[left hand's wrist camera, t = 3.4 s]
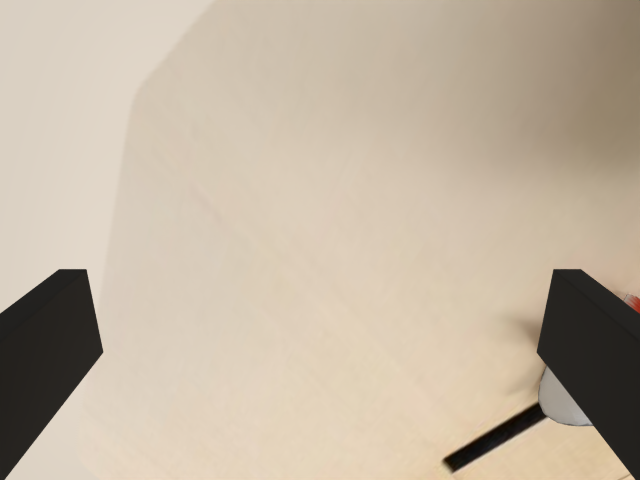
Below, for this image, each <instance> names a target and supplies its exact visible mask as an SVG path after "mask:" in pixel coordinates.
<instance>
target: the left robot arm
mask: <svg viewBox="0 0 640 480" xmlns="http://www.w3.org/2000/svg"><path fill="white" fill-rule="evenodd" d="M102 353H103V348H102V343H101V338H100V334H99V329H98V324H97V319H96V314H95V309H94V304H93V299H92V294H91V289H90V284H89V280H88V275H87V270H86V269H59V270H58V271H56V272H55V273H54V274H52V275H51V276H50V277H48V278H47V279H46V280H44V281H43V282H42V283H40V284H39V285H38V286H36V287H35V288H34V289H32V290H31V291H30V292H28V293H27V294H26V295H24V296H23V297H22V298H20V299H19V300H18V301H16V302H15V303H14V304H12V305H11V306H10V307H8V308H7V309H6V310H4V311H3V312H2V313H0V480H5V478H6V477H7V476H8V475H9V473H10V472H11V471H12V469H13V468H14V467H15V465H16V464H17V463H18V462H19V460H20V459H21V458H22V456H23V455H24V454H25V453H26V451H27V450H28V449H29V447H30V446H31V445H32V444H33V442H34V441H35V440H36V438H37V437H38V436H39V435H40V433H41V432H42V431H43V429H44V428H45V427H46V426H47V424H48V423H49V422H50V420H51V419H52V418H53V417H54V415H55V414H56V413H57V411H58V410H59V409H60V408H61V406H62V405H63V404H64V402H65V401H66V400H67V399H68V397H69V396H70V395H71V393H72V392H73V391H74V389H75V388H76V387H77V386H78V384H79V383H80V382H81V380H82V379H83V378H84V377H85V375H86V374H87V373H88V371H89V370H90V369H91V368H92V366H93V365H94V364H95V362H96V361H97V360H98V359H99V357H100V356H101V355H102ZM537 353H538V355H539V356H540V357H541V359H542V360H543V361H544V362H545V364H546V365H547V366H548V368H549V369H550V370H551V371H552V373H553V374H554V375H555V377H556V378H557V379H558V380H559V382H560V383H561V384H562V386H563V387H564V388H565V390H566V391H567V392H568V393H569V395H570V396H571V397H572V399H573V400H574V401H575V402H576V404H577V405H578V406H579V408H580V409H581V410H582V411H583V413H584V414H585V415H586V417H587V418H588V419H589V420H590V422H591V423H592V424H593V426H594V427H595V428H596V429H597V431H598V432H599V433H600V435H601V436H602V437H603V438H604V440H605V441H606V442H607V444H608V445H609V446H610V447H611V449H612V450H613V451H614V453H615V454H616V455H617V457H618V458H619V459H620V460H621V462H622V463H623V464H624V466H625V467H626V468H627V469H628V471H629V472H630V473H631V475H632V476H633V477H634V478H635V480H640V313H638V312H637V311H636V310H634V309H633V308H632V307H630V306H629V305H628V304H626V303H625V302H624V301H622V300H621V299H620V298H618V297H617V296H616V295H614V294H613V293H612V292H610V291H609V290H608V289H606V288H605V287H604V286H602V285H601V284H600V283H598V282H597V281H596V280H594V279H593V278H592V277H590V276H589V275H588V274H586V273H585V272H584V271H582V270H581V269H554V270H553V275H552V280H551V284H550V289H549V294H548V299H547V304H546V309H545V314H544V319H543V324H542V329H541V334H540V338H539V343H538V348H537Z"/></svg>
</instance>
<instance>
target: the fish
mask: <svg viewBox="0 0 640 480" xmlns="http://www.w3.org/2000/svg"><path fill="white" fill-rule="evenodd" d="M624 302H625V303H626V304H628V305H629V306H630V307H632V308H633V309H634V310H636V311H637V312H638V313H640V299H639V298H637V297H634V296H632V295H629V294H627V295H626V297H625V299H624ZM538 401H539V403H540V406H541V408H542V410H543V412H544V414H545V415H547V416H548V417H549V418H550V419H552V420H554V421H556V422H557V423H561V424H565V425H571V426H593V424H592V423H591V422H590V420H589V419H588V418H587V417H586V415H585V414H584V413H583V411H582V410H581V409H580V408H579V406H578V405H577V404H576V402H575V401H574V400H573V399H572V397H571V396H570V395H569V393H568V392H567V391H566V390H565V388H564V387H563V386H562V384H561V383H560V382H559V380H558V379H557V378H556V377H555V375H554V374H553V373H552V371H551V370H550V369H549V368H548V366H547V365H546V368H545V371H544V373H543V375H542V378H541V382H540V386H539V392H538Z"/></svg>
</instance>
